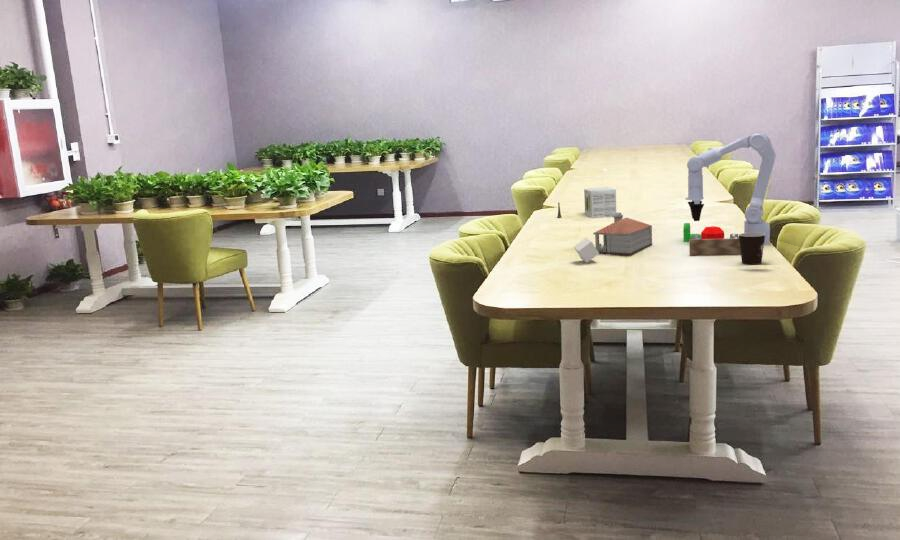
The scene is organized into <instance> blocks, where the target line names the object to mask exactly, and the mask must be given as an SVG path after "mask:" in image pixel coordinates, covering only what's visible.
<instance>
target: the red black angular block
mask: <svg viewBox="0 0 900 540" xmlns="http://www.w3.org/2000/svg"><path fill="white" fill-rule="evenodd" d="M700 234H701V239H725V231H724V230H723V229H722V228H721V227H720V226H713V225H712V226H705V228H704V229H703V230H702V231H701V232H700Z"/></svg>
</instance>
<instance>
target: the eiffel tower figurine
mask: <svg viewBox="0 0 900 540" xmlns="http://www.w3.org/2000/svg"><path fill="white" fill-rule="evenodd" d="M557 204H558V207H557V211H558V212H557V217H556V218H557V219H560V218H561V219H562V214H561V206H560V204H561V203H560V202H558V203H557Z"/></svg>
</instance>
